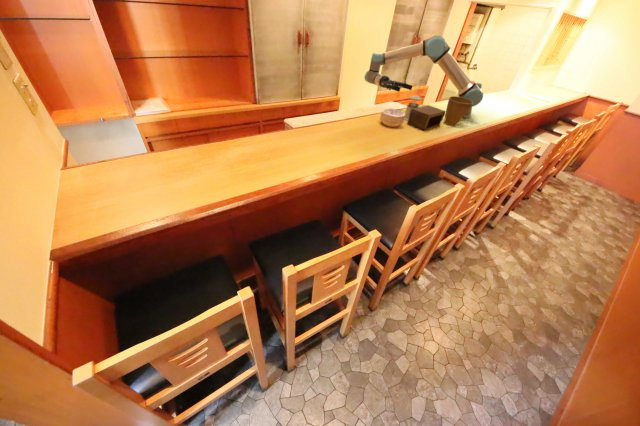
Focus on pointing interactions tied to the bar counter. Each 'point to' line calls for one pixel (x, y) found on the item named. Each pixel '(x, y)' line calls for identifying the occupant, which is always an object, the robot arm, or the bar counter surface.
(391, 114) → the paper bowls
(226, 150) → the bar counter surface
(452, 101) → the plant pot
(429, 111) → the shelf
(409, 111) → the french press
